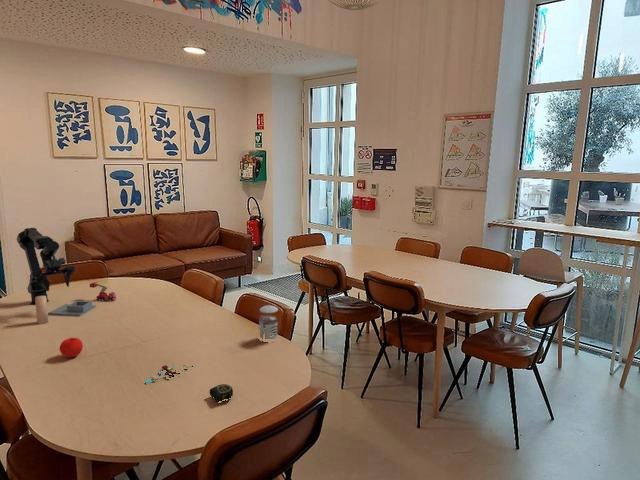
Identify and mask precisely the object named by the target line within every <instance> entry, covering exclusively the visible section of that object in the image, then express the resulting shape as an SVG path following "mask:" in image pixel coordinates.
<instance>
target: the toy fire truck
mask: <svg viewBox="0 0 640 480" xmlns="http://www.w3.org/2000/svg"><path fill="white" fill-rule="evenodd" d="M97 287H100V288H101V290H100V291H99V293H98V295H97V296H96V297H95V298H96V300H97V301H100V302H101V301H103V302H104V301H109V302H115V301H116V300H117V293H115V292H114V291H111V292H109V293H107V292H106V290H107V289H108V288H109V287H108V286H107V285H104V284H101V283H99V282H98V281H96V282H95V281H94V282H92V283H89V288H94V289H95V288H97Z"/></svg>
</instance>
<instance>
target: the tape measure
mask: <svg viewBox="0 0 640 480" xmlns="http://www.w3.org/2000/svg"><path fill="white" fill-rule="evenodd" d="M209 395H210V396H211V397H212V396H213V397H214V398H213V397H212V398H213V399H214V401H215V400H216V401H215V402H216V403H217V402H219V401H222V400H224V399H229V398H231V396H232V397H233V395H234V390H233V387H232V386H231V385H230V384H225V383H222V384H218V385H216V386H214V387H212V388H209ZM231 399H232V398H231Z"/></svg>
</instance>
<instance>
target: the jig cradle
mask: <svg viewBox="0 0 640 480" xmlns="http://www.w3.org/2000/svg"><path fill="white" fill-rule="evenodd" d="M95 308H96V304H93V301H90V300H89V301H88V300H85V301H84V300H76V301H73V302H72V303H64V304H63V305H60V306H59V307H57V308H55V309H53V310H51V311H50V312H48V316H63V317H64V316H65V317H82V316H83V315H85V314H86V313H88V312H90V311H92V310H93V309H95Z"/></svg>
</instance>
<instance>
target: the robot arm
mask: <svg viewBox="0 0 640 480" xmlns="http://www.w3.org/2000/svg"><path fill="white" fill-rule="evenodd" d="M16 243H18V245H19V248H21V249H22V250H23V251H24V253H25V256H26V260H27V264H28V267H29V270H30V275H29V281H28V282H29V283H28V285H27V292H28V294H30V297H31V298H30V299H31V302H29V304H30V305H36V303H35V297H37V296H46V299H47V303H48V302H49V301H50V300H49V299H48V294H47V292H49V291H50V283H51V282H50V280H48V277H47V276H53V275H59V274H63V279H64V281H65V285H66V286H67V288H69V286H70V279H71V277H72V275H73V274H74V273H75V271H76V266H74V265H67V266H66V265H65V264H66V259H65V257H60V258H58V259H57V258H56V256H55V255H56V254H57V251H58V250H59V248H60V243H59V242H57V241H56V240H54V239H53V238H51V237H50V236H48V235H43V234H42V233H41V232H39V231H38V230H37V228H35V227H27V228H24V229H23V230H22V231H21V232H19V233H18V235H17V236H16ZM36 250H38V251H39V250H41V251H40V252H39V257H40V258H41V261H42V267H43V268H44V271H42V270H41V267H40V263H39V258H38V256H37V252H36ZM63 265H65V266H64V268H62V269H61V267H62V266H63Z"/></svg>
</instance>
